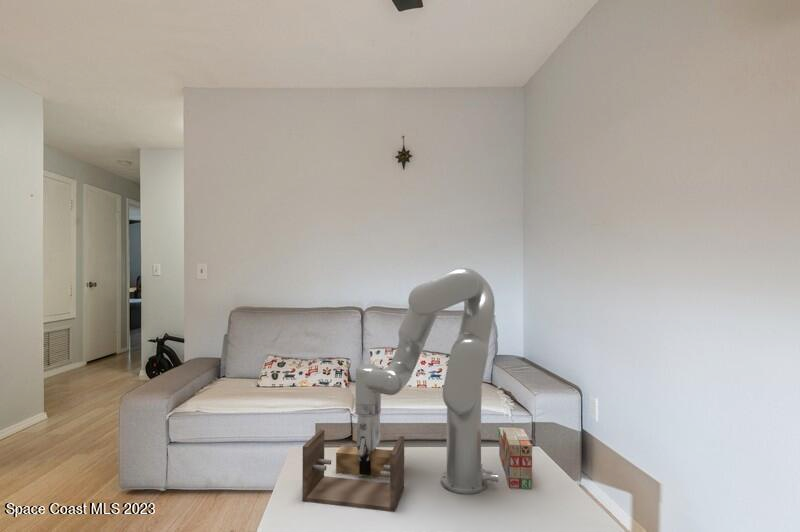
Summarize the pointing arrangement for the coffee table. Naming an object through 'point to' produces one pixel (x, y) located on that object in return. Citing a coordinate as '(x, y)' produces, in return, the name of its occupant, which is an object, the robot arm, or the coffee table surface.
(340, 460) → the shelf board
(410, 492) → the coffee table surface
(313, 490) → the shelf frame
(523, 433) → the stack of blocks
